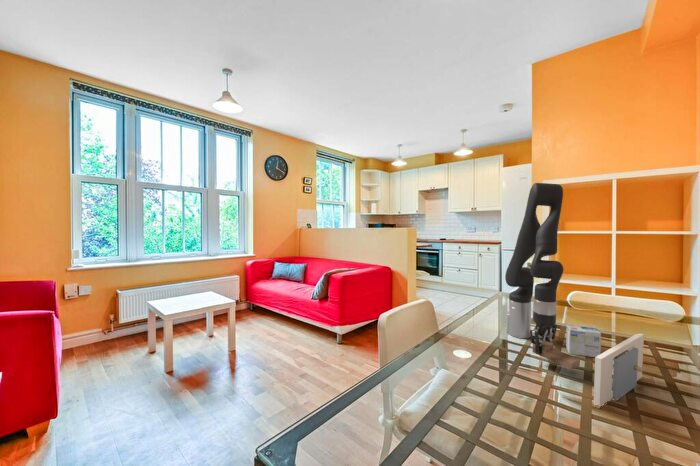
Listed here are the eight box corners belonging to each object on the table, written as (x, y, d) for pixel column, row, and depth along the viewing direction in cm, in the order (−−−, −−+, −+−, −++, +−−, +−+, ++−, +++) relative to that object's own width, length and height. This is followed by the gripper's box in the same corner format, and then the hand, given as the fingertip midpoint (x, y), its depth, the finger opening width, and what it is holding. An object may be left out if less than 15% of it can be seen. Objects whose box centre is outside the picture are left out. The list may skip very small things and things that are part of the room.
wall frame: (593, 405, 91) (595, 357, 89) (636, 375, 106) (638, 332, 104) (599, 408, 89) (601, 359, 88) (641, 377, 104) (643, 334, 103)
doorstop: (532, 352, 116) (532, 341, 115) (540, 349, 118) (540, 338, 118) (572, 369, 103) (572, 358, 103) (579, 365, 106) (580, 354, 105)
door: (612, 399, 93) (614, 359, 92) (632, 384, 100) (634, 347, 99) (622, 403, 91) (624, 363, 90) (642, 388, 98) (644, 350, 97)
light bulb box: (595, 351, 124) (596, 326, 123) (601, 358, 118) (602, 333, 117) (565, 346, 128) (565, 323, 127) (569, 354, 122) (569, 329, 121)
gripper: (545, 304, 119) (543, 343, 121) (523, 311, 113) (522, 352, 115) (565, 310, 113) (563, 351, 115) (543, 317, 106) (541, 361, 108)
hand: (542, 351), depth 115 cm, fingers closed on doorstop, 5 cm apart
